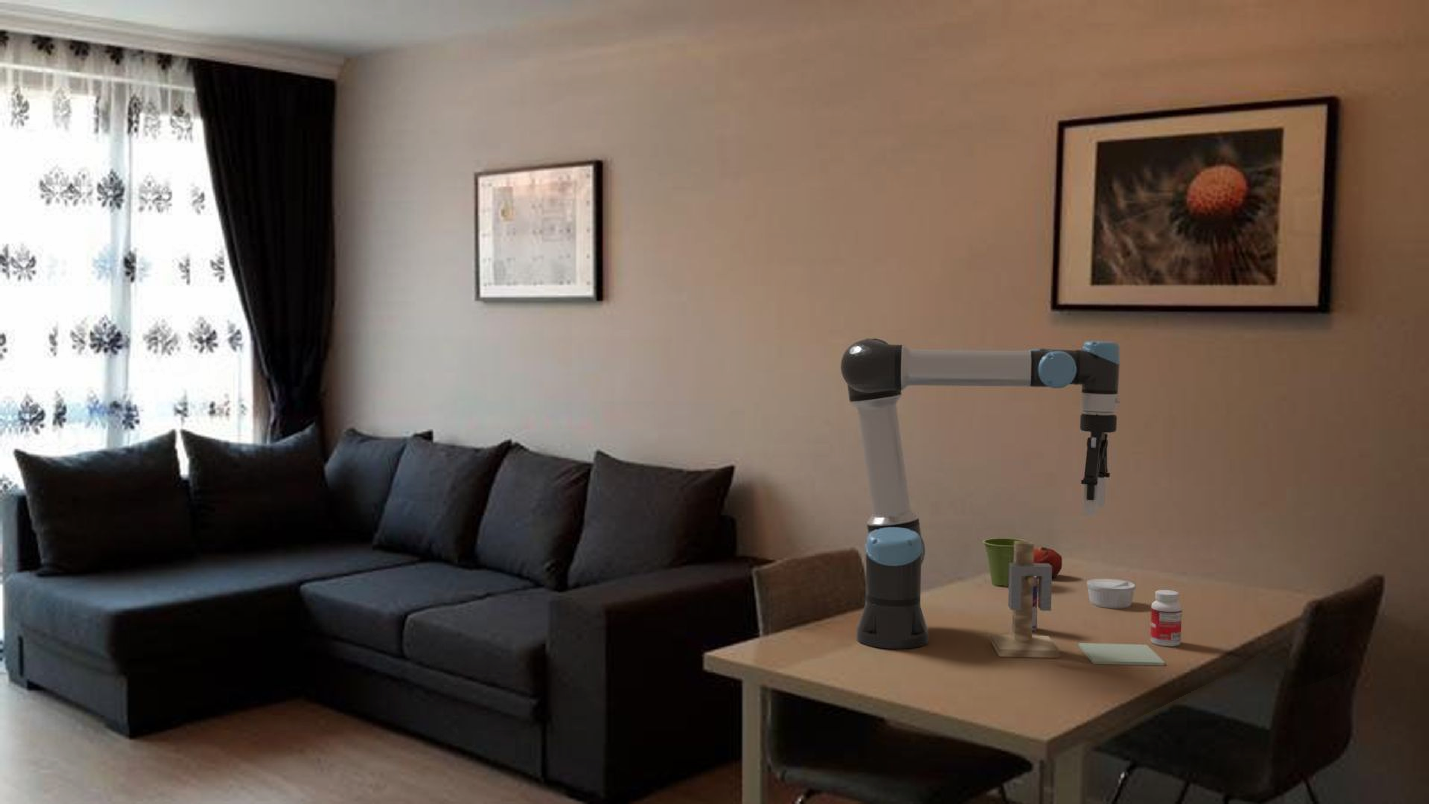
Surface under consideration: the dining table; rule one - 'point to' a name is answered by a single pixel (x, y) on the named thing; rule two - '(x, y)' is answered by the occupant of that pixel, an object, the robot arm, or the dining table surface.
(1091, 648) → the mat
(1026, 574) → the c link
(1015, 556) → the stand
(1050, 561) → the tomato
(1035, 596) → the energy drink
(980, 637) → the dining table surface
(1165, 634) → the pill bottle
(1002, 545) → the plant pot
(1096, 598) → the ramekin
